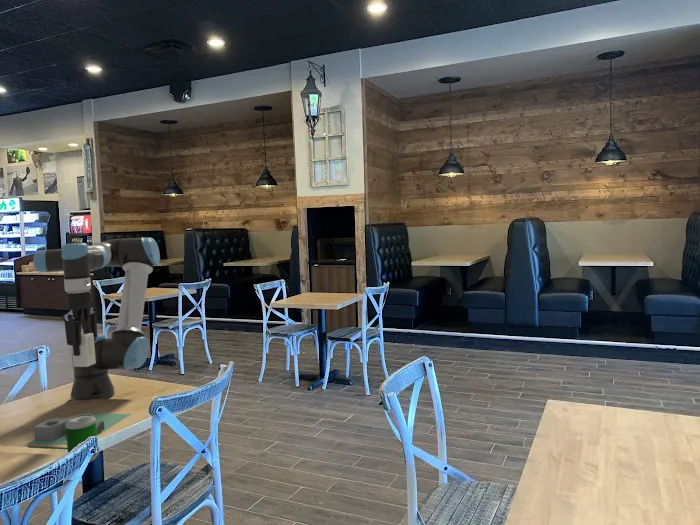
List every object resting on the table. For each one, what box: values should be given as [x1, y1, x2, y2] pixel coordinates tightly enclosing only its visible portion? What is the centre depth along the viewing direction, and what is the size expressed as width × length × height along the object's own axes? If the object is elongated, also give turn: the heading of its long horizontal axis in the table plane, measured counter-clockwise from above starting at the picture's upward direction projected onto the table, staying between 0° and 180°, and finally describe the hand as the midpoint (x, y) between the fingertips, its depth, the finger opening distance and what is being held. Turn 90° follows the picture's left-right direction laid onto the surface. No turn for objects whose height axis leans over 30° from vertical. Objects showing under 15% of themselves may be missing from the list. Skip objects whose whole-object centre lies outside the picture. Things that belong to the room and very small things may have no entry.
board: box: [28, 412, 132, 450], centre depth 165 cm, size 24×18×6 cm
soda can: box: [65, 413, 100, 464], centre depth 145 cm, size 8×8×12 cm
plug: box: [71, 332, 96, 367], centre depth 169 cm, size 4×6×10 cm
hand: (84, 362), depth 170 cm, fingers closed on plug, 4 cm apart
